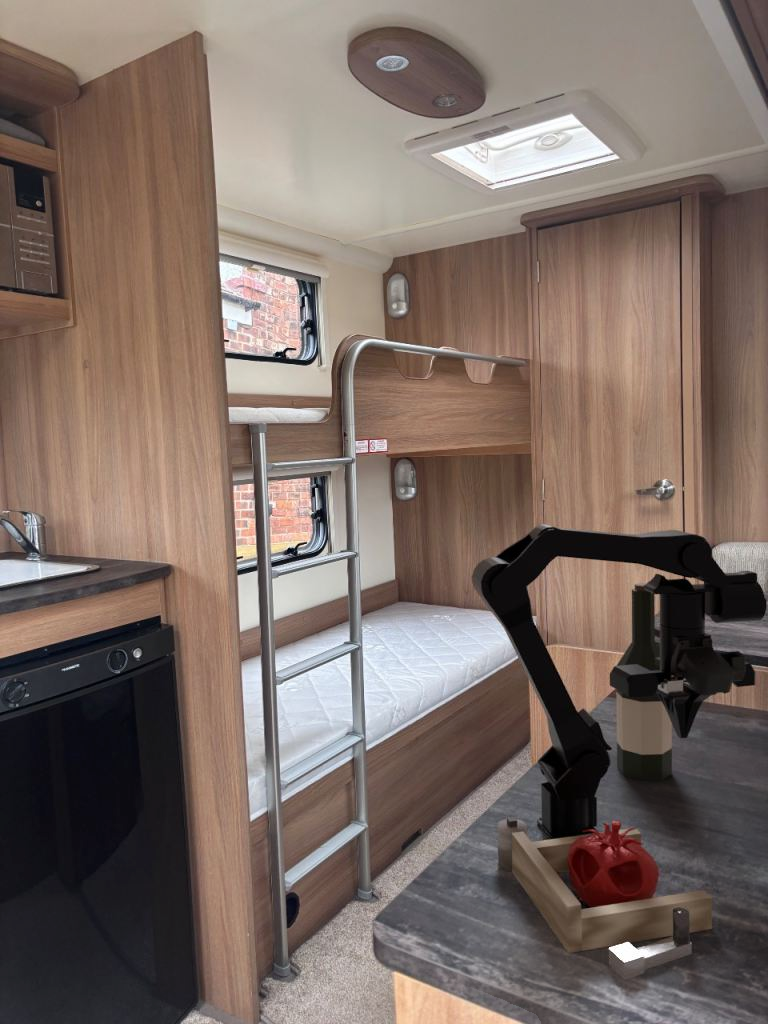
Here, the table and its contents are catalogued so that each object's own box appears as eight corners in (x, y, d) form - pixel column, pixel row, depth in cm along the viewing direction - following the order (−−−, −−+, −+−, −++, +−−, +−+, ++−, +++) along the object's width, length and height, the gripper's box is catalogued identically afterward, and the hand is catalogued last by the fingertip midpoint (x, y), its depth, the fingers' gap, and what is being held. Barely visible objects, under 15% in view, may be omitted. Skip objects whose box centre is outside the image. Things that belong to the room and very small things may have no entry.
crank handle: (624, 979, 76) (624, 938, 76) (608, 965, 78) (608, 925, 78) (696, 955, 79) (695, 916, 79) (679, 942, 82) (678, 903, 81)
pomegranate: (586, 869, 97) (585, 796, 96) (669, 892, 91) (668, 814, 90) (555, 907, 88) (553, 827, 88) (644, 935, 83) (643, 849, 82)
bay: (558, 954, 80) (558, 900, 80) (494, 858, 99) (493, 814, 99) (711, 928, 84) (711, 877, 83) (621, 840, 103) (620, 798, 102)
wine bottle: (683, 775, 122) (683, 586, 120) (640, 785, 119) (639, 591, 117) (647, 756, 130) (646, 578, 128) (606, 765, 127) (604, 583, 125)
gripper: (651, 644, 95) (651, 768, 96) (785, 632, 99) (783, 752, 100) (607, 624, 106) (608, 736, 107) (729, 615, 110) (728, 723, 111)
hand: (682, 737), depth 106 cm, fingers closed
